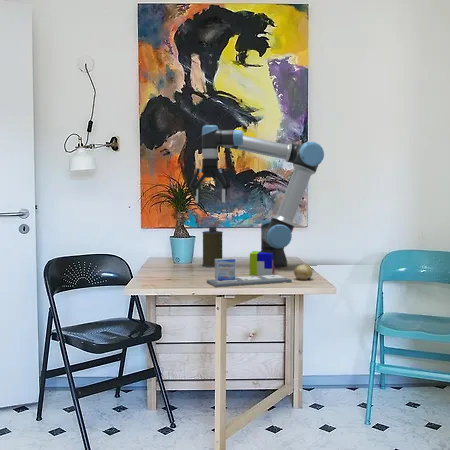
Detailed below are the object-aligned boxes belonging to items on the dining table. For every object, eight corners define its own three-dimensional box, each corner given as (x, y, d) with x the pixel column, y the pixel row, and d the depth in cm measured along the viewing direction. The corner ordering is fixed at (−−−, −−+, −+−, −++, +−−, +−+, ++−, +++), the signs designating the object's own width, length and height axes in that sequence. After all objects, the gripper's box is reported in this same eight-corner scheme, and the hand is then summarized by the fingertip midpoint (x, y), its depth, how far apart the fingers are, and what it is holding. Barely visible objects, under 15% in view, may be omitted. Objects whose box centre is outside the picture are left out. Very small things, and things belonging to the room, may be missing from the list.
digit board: (279, 277, 250) (279, 273, 250) (291, 282, 239) (291, 277, 239) (206, 282, 239) (206, 278, 239) (215, 287, 228) (215, 282, 227)
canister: (221, 267, 283) (220, 227, 282) (200, 266, 285) (200, 227, 283) (224, 264, 294) (224, 226, 292) (204, 263, 295) (204, 225, 294)
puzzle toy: (271, 276, 255) (271, 254, 255) (249, 275, 257) (249, 253, 257) (274, 272, 265) (274, 251, 265) (253, 272, 267) (253, 251, 267)
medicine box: (217, 280, 232) (217, 259, 232) (214, 279, 236) (214, 258, 236) (235, 279, 234) (235, 259, 234) (232, 278, 239) (232, 257, 238)
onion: (315, 280, 243) (315, 264, 242) (297, 281, 241) (297, 265, 241) (308, 277, 251) (308, 261, 250) (291, 278, 249) (291, 262, 249)
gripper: (231, 158, 277) (231, 202, 278) (182, 158, 269) (183, 202, 270) (237, 158, 270) (237, 202, 271) (186, 157, 262) (187, 203, 263)
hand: (210, 202), depth 271 cm, fingers open, 13 cm apart
